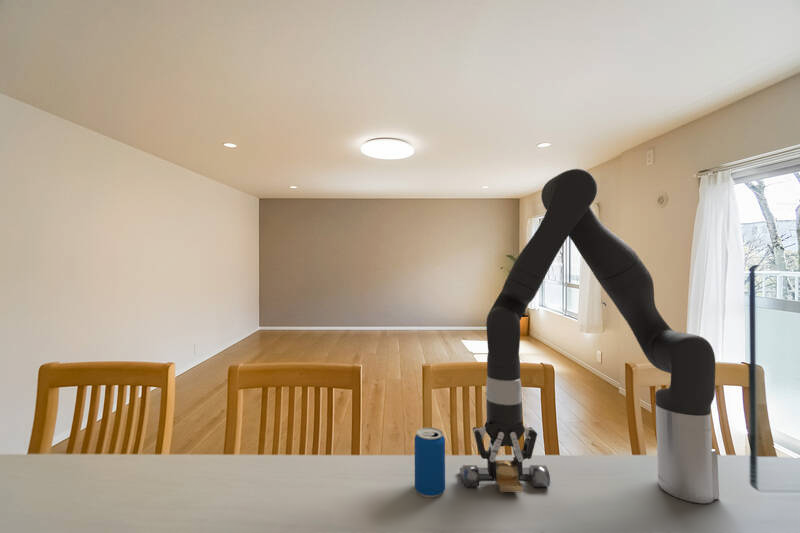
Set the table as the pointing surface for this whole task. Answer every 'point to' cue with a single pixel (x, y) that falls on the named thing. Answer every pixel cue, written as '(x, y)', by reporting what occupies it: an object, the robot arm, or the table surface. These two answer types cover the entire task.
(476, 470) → the grey metal dumbbell
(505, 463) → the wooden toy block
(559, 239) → the robot arm
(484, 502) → the table surface
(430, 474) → the beverage can
